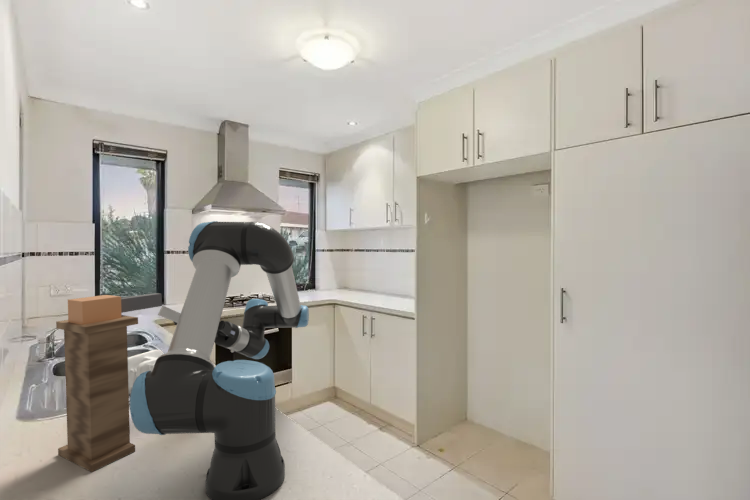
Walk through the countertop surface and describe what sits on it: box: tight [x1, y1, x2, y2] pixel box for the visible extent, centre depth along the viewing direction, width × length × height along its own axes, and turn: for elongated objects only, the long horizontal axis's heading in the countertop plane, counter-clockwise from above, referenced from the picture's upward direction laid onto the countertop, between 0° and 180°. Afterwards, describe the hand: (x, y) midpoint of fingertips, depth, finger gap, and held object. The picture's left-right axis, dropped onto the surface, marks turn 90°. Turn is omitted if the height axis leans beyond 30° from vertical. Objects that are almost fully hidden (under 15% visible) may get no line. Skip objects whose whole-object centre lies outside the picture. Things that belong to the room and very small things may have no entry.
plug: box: [67, 292, 163, 325], centre depth 94 cm, size 6×19×5 cm, turn 152°
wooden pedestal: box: [55, 314, 139, 473], centre depth 90 cm, size 14×11×30 cm
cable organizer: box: [128, 349, 164, 395], centre depth 126 cm, size 15×11×12 cm
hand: (176, 312), depth 107 cm, fingers open, 13 cm apart
